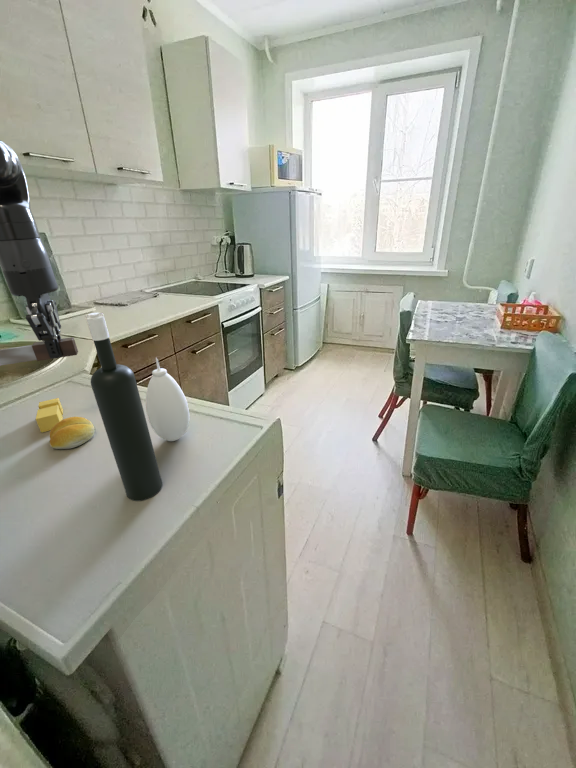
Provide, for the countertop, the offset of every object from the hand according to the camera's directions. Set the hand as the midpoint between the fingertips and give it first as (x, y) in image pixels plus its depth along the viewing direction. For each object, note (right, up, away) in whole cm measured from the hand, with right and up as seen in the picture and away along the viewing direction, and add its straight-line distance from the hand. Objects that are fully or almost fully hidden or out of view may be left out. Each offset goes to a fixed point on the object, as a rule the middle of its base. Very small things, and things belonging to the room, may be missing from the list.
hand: (58, 354), depth 72 cm
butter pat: (-9, -13, +13) cm, 21 cm away
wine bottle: (+22, -24, -12) cm, 35 cm away
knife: (-3, -1, -1) cm, 4 cm away
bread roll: (+1, -18, +3) cm, 18 cm away
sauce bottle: (+23, -17, +1) cm, 29 cm away
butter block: (-7, -15, +8) cm, 19 cm away
